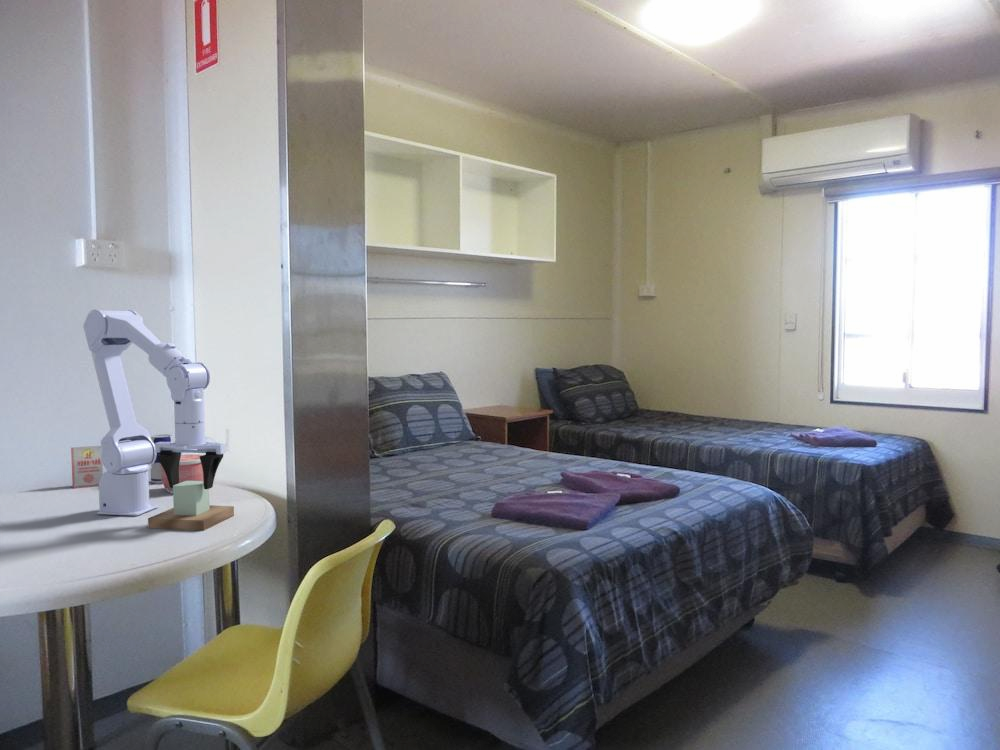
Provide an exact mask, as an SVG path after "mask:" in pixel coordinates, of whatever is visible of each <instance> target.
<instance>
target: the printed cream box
mask: <svg viewBox="0 0 1000 750" xmlns="http://www.w3.org/2000/svg"><path fill="white" fill-rule="evenodd" d="M70 452H71V453H70V455H71V477H72V478H71V479H72V482H71V483H72V489H81V488H82V489H83V488H91V487H99V481H100V478H101V476H102V475H103V474H104V470H103V466H104V465H103V463H102V459H101V454H102V446H101V445H89V446H88V445H87V446H74V447H70Z"/></svg>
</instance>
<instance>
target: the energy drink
mask: <svg viewBox="0 0 1000 750" xmlns="http://www.w3.org/2000/svg"><path fill="white" fill-rule="evenodd" d="M150 438H151V440H152V441H153V443H154V444H155V443H158V442H173V437H172V434H167V433H166V434H154V435H150ZM157 455H160V452H157ZM157 455H156V459H155V462H154V463H153V464H152V465H151V469H150V483H152V484H155V485H156V484H158V485H159V484H162V485H163V483H162V472H161V466H162V465H161V464H160V462H159V461H158V460H157Z"/></svg>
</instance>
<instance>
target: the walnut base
mask: <svg viewBox="0 0 1000 750" xmlns="http://www.w3.org/2000/svg"><path fill="white" fill-rule="evenodd" d="M209 505H210V510H208V511H206V512H203V513H201V514H199V515H197V516H195V515H174V507H172V508H170V509H168V510H165V511H162V512H160V513H158V514H155V515H153V516H150V517H148V518H147V524H148V525H147V528H148V529H161V530H163V529H164V530H184V531H185V530H187V531H202V532H203V531H206V530H208V529H210V528H212V527H213V526H216V525H217V524H219V523H222V522H224V521H226V520H229V519H230V518H231V517H234V516H235V506H234V505H213V504H209Z"/></svg>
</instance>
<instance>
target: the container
mask: <svg viewBox="0 0 1000 750" xmlns="http://www.w3.org/2000/svg"><path fill="white" fill-rule="evenodd" d="M202 455H203V454H198V453H186V454H181V457H180V463H179V483H182V482H184V481H203V469H202V464H201V461H200V456H202ZM161 472H162V485H163V487H164V488H165V489H166V490H167V491H168V492H167V493H169V492H172V493H171V494H173V488H170V486H169V482H168V479H167V476H166V473H165V471H164V469H163V467H162V466H161Z"/></svg>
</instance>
